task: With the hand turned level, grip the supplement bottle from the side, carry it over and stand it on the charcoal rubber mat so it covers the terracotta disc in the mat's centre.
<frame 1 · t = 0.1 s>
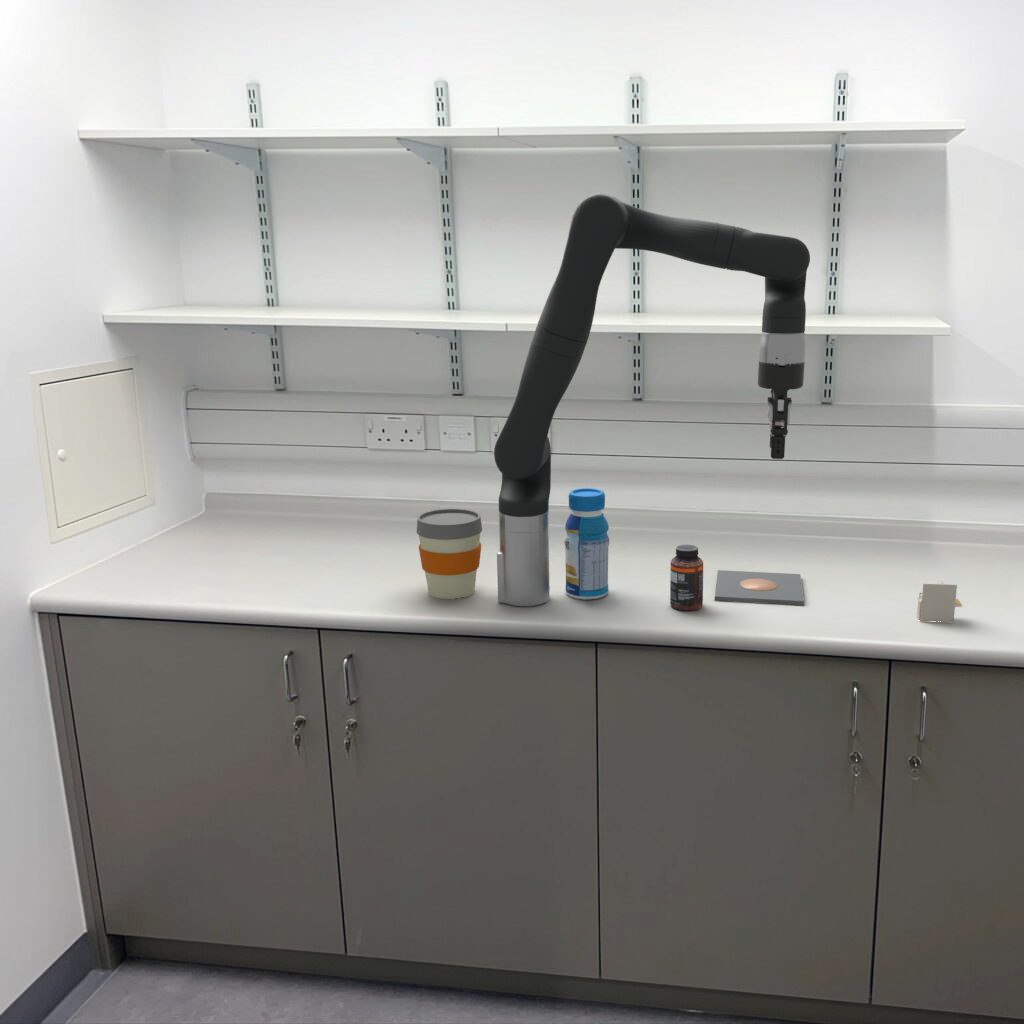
hand: (776, 453, 181), 29 cm above the worktop, tool pointing down, fingers open, 8 cm apart
supplement bottle: (686, 607, 193), on the worktop
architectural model: (934, 624, 183), on the worktop
beverage bottle: (586, 594, 201), on the worktop
reusable coffee cup: (451, 592, 203), on the worktop
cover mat: (758, 588, 201), on the worktop
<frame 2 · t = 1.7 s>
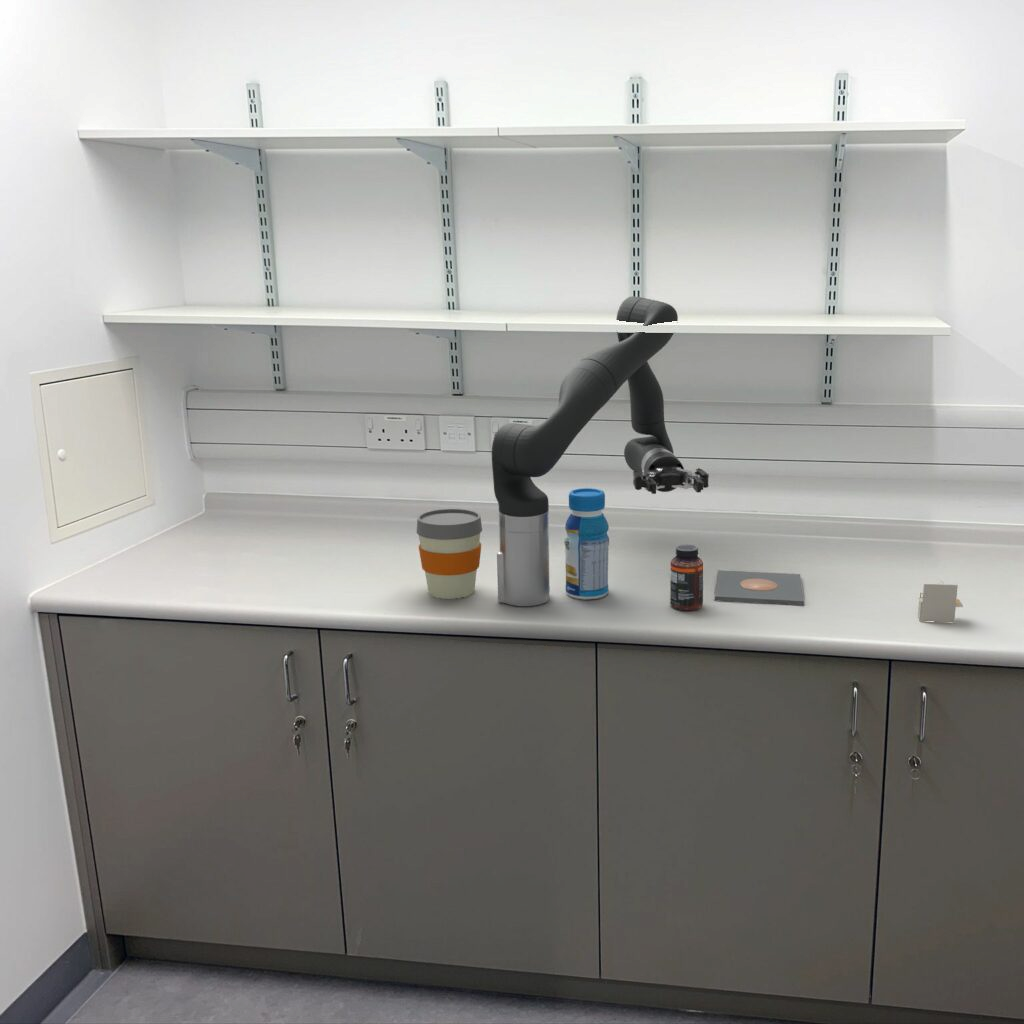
hand: (676, 488, 198), 20 cm above the worktop, tool horizontal, fingers open, 8 cm apart
nothing on the worktop moved.
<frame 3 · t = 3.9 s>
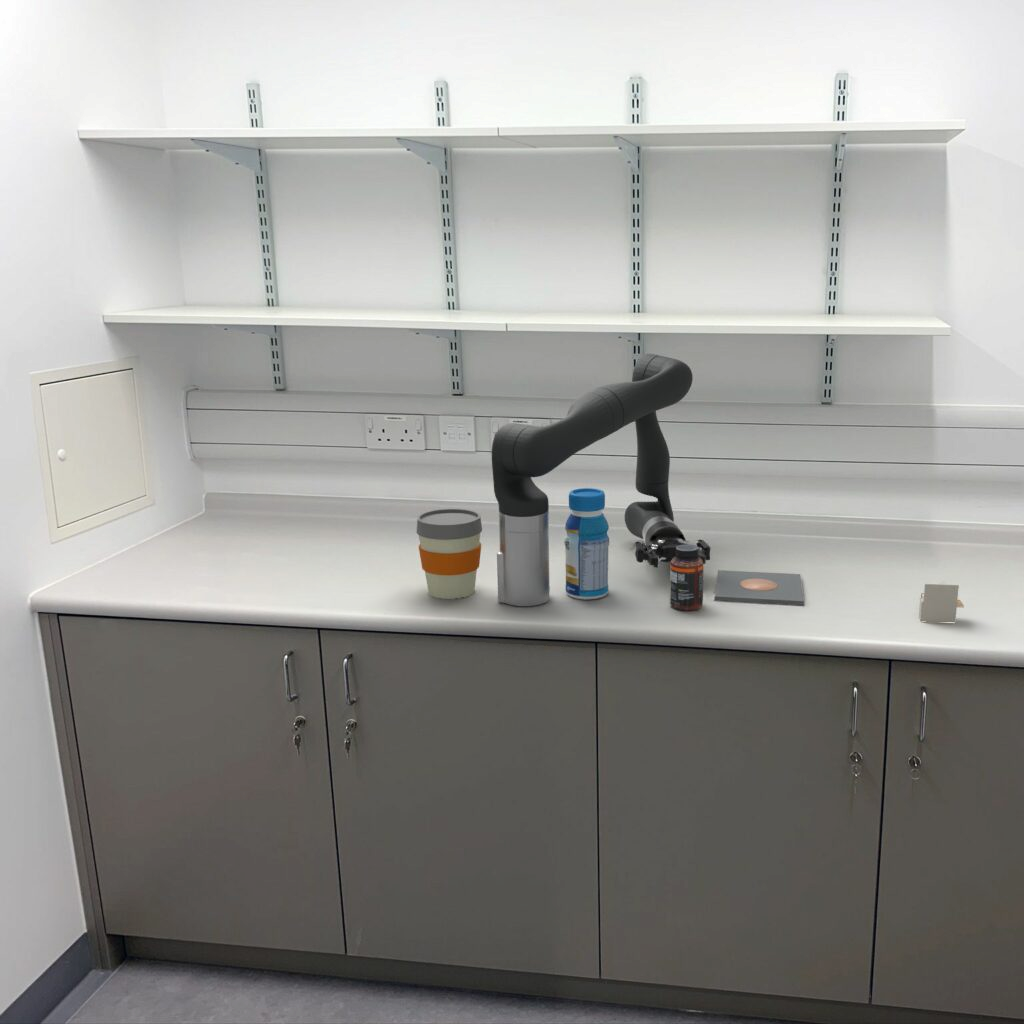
hand: (678, 562, 198), 6 cm above the worktop, tool horizontal, fingers open, 8 cm apart
nothing on the worktop moved.
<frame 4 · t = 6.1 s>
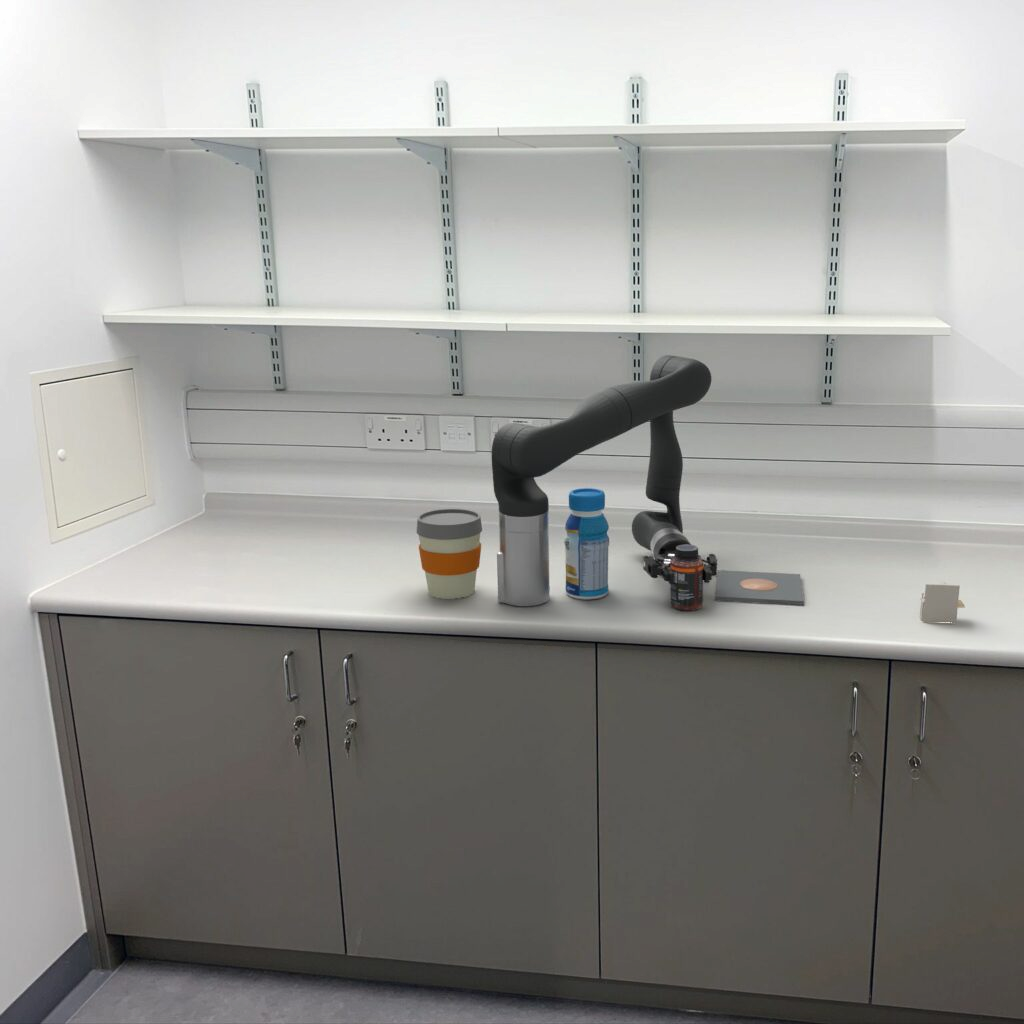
hand: (689, 578, 189), 6 cm above the worktop, tool horizontal, fingers closed on supplement bottle, 6 cm apart
supplement bottle: (686, 607, 193), on the worktop, touching gripper
everything else where it was.
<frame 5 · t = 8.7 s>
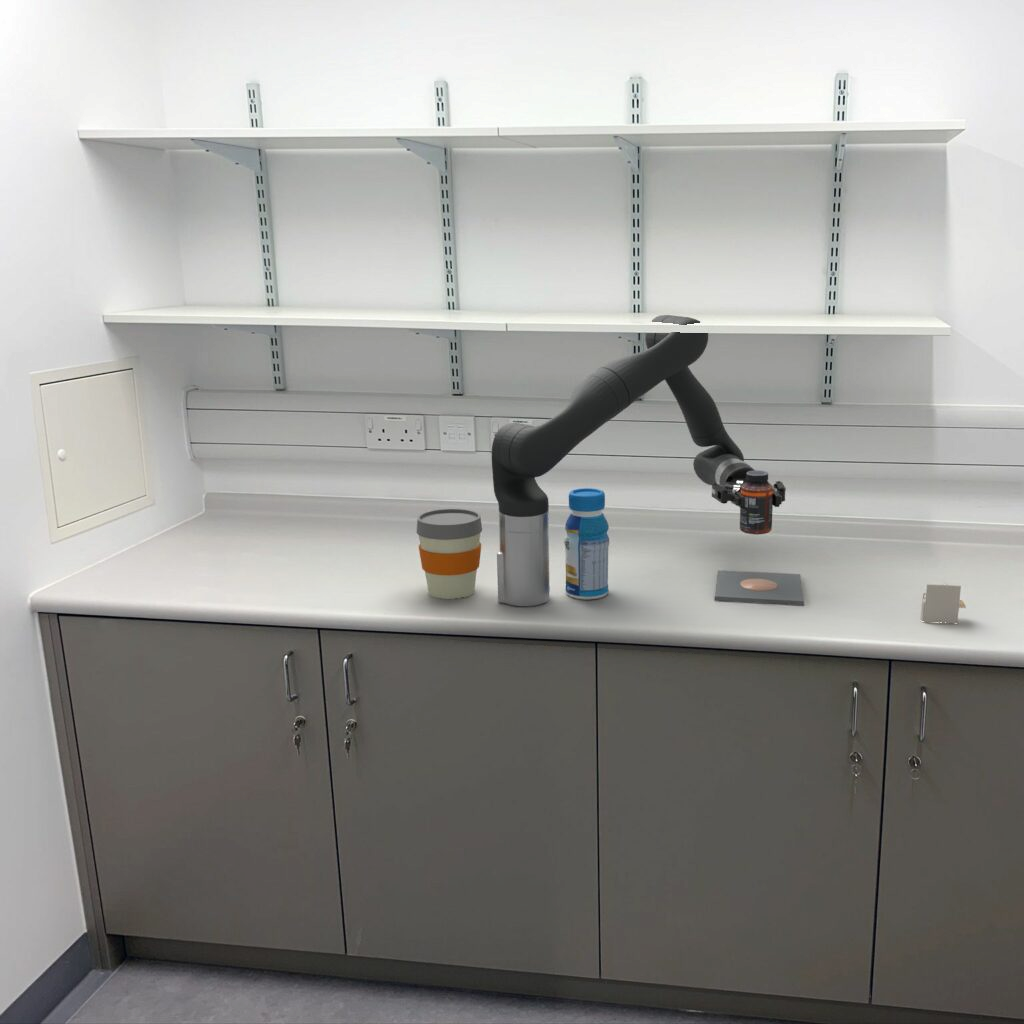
hand: (760, 502, 194), 18 cm above the worktop, tool horizontal, fingers closed on supplement bottle, 6 cm apart
supplement bottle: (755, 532, 198), point 12 cm above the worktop, touching gripper
everything else where it was.
when the fingers open (8 cm above the worktop, at t = 11.3 s): supplement bottle stays where it is, resting on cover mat.
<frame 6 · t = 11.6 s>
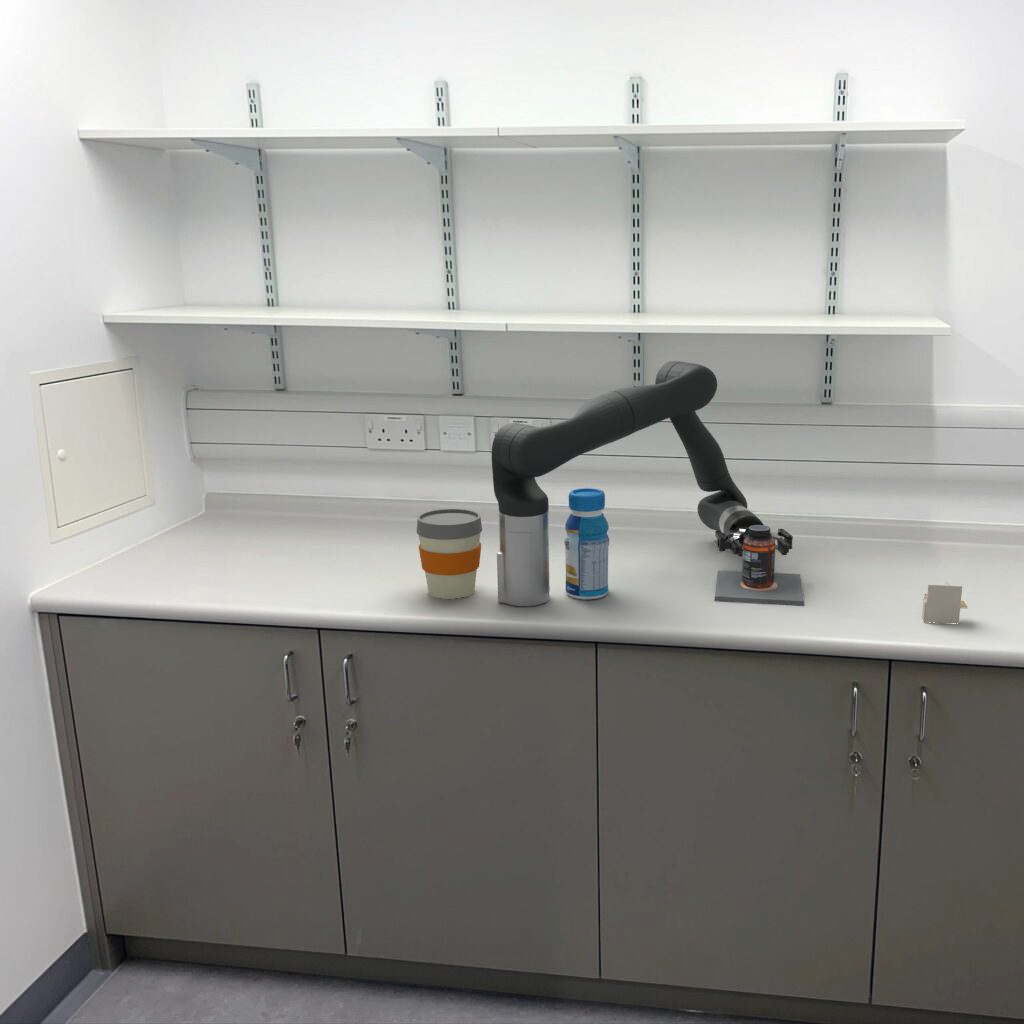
hand: (763, 550, 197), 8 cm above the worktop, tool horizontal, fingers open, 8 cm apart
supplement bottle: (757, 585, 201), point 1 cm above the worktop, touching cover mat
everything else where it was.
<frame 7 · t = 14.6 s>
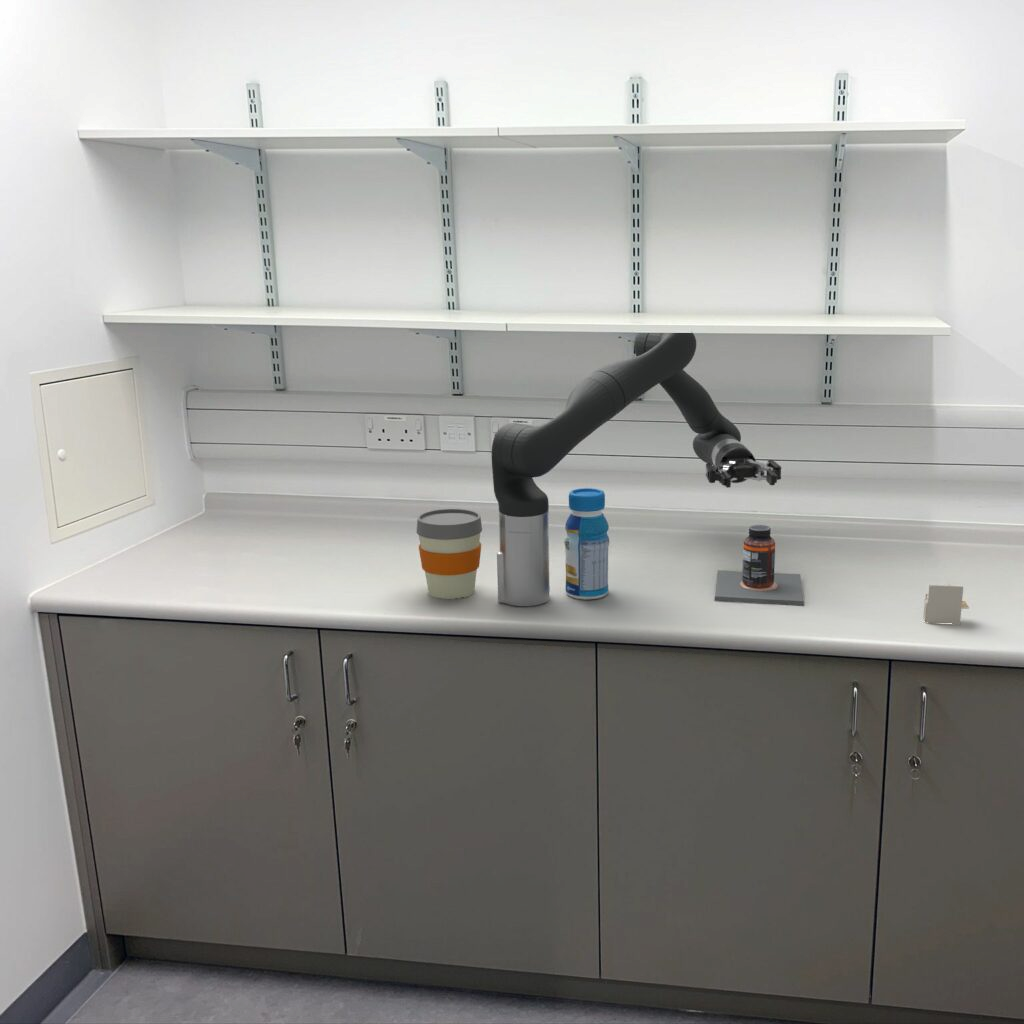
hand: (751, 481, 202), 20 cm above the worktop, tool horizontal, fingers open, 8 cm apart
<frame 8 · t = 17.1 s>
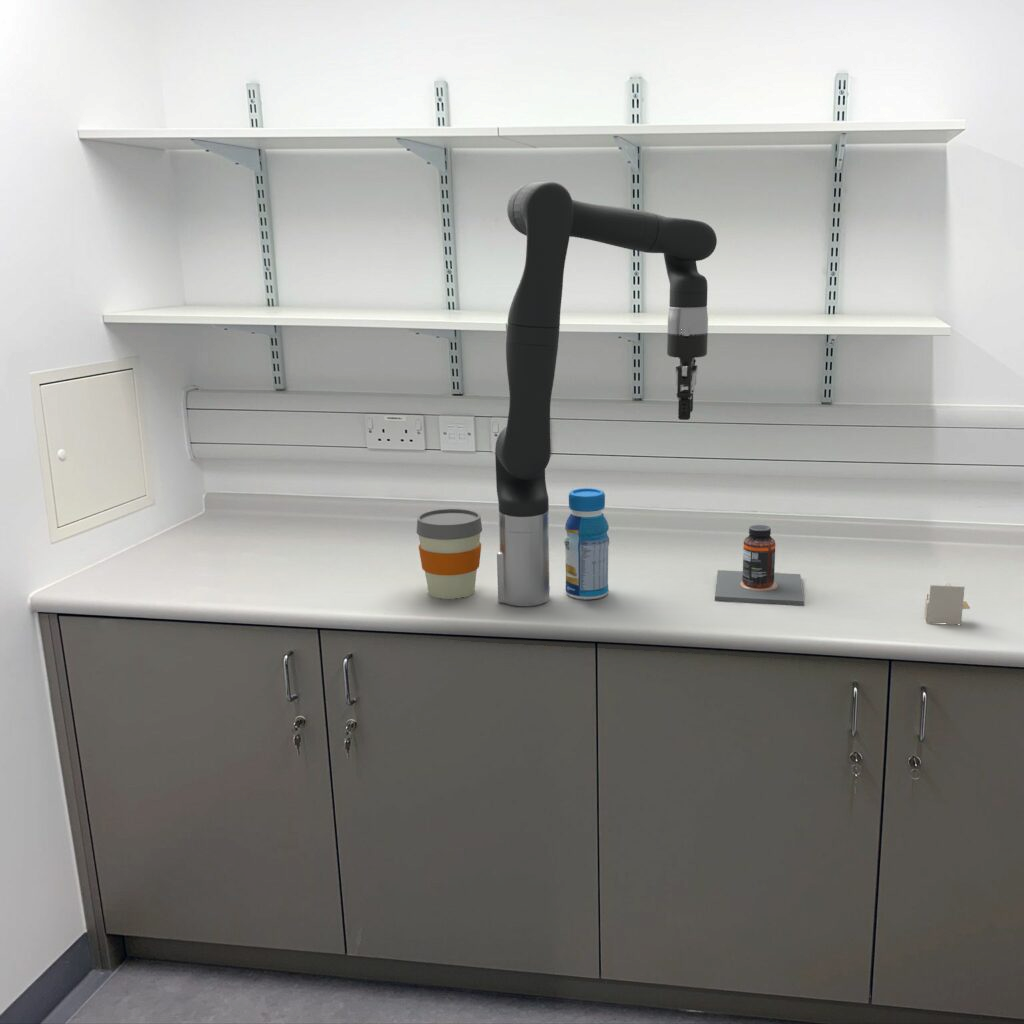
hand: (685, 415, 203), 32 cm above the worktop, tool pointing down, fingers open, 8 cm apart
at the end: supplement bottle 0.2 cm from the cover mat (horizontally); supplement bottle tilted 0°; supplement bottle touching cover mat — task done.
